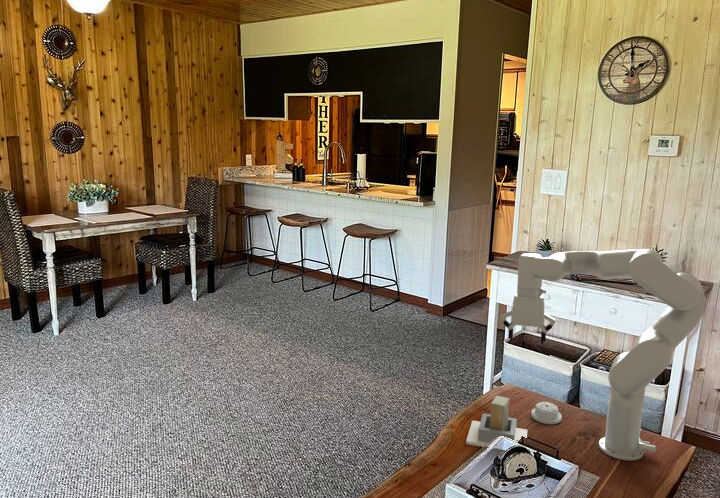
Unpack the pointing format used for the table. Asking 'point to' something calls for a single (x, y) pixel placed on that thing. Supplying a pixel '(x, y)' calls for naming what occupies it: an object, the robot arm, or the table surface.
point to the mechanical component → (546, 413)
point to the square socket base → (492, 431)
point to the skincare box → (499, 413)
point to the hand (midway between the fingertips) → (526, 341)
